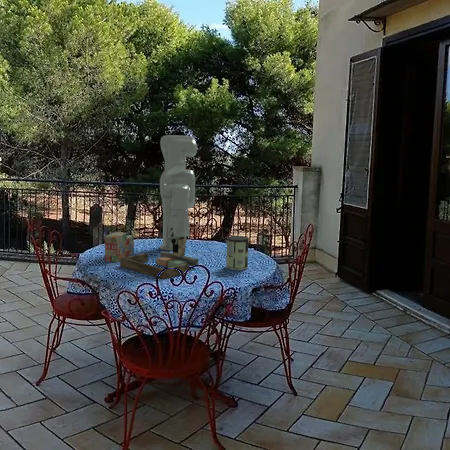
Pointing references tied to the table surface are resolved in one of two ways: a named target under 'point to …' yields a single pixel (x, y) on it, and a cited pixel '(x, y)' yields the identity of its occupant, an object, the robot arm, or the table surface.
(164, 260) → the tile terracotta
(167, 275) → the box
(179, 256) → the scraper
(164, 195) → the robot arm
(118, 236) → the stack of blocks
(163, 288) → the table surface
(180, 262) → the tile sage
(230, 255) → the coffee can
